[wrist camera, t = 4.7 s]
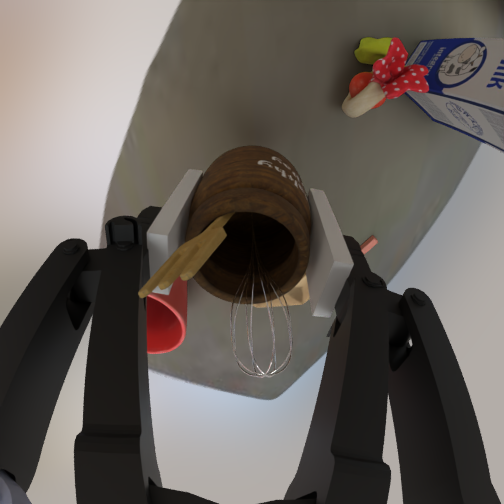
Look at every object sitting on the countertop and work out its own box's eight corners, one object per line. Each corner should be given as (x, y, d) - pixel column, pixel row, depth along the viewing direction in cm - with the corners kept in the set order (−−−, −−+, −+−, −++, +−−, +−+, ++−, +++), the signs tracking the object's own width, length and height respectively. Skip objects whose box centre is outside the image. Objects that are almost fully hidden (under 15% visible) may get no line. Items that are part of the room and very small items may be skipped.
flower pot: (208, 299, 41) (197, 354, 33) (139, 303, 42) (118, 354, 34) (187, 233, 35) (167, 286, 27) (111, 244, 36) (79, 292, 28)
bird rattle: (369, 111, 28) (423, 61, 21) (378, 168, 22) (459, 102, 15) (325, 77, 27) (378, 20, 20) (319, 122, 20) (399, 40, 13)
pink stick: (372, 235, 35) (374, 238, 34) (376, 238, 35) (378, 242, 34) (316, 284, 39) (317, 288, 38) (320, 287, 39) (320, 291, 39)
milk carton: (421, 39, 21) (569, 45, 4) (460, 79, 23) (600, 124, 6) (391, 83, 25) (536, 122, 8) (432, 122, 26) (567, 197, 10)
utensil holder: (233, 246, 20) (208, 421, 10) (181, 166, 17) (81, 318, 7) (317, 212, 18) (365, 388, 8) (272, 119, 15) (293, 230, 5)
